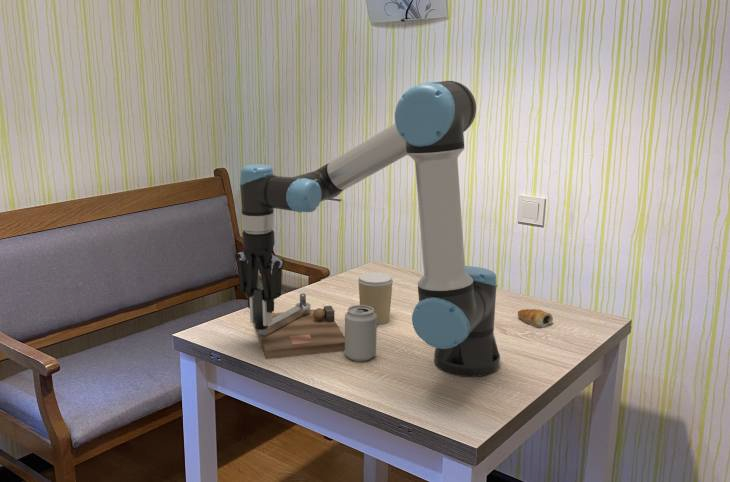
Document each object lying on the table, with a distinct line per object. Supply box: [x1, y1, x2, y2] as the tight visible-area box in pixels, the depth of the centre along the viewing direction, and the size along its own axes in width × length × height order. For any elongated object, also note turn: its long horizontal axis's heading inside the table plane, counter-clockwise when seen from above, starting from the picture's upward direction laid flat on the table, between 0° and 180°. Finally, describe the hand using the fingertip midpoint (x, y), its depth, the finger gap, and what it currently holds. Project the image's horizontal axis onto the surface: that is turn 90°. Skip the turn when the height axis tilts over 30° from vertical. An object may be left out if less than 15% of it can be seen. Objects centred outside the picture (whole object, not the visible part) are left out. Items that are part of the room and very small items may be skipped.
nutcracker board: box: [253, 305, 345, 360], centre depth 181 cm, size 24×20×5 cm
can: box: [344, 304, 377, 362], centre depth 168 cm, size 8×8×12 cm
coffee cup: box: [357, 271, 394, 325], centre depth 191 cm, size 9×9×12 cm
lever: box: [254, 286, 312, 336], centre depth 182 cm, size 22×4×12 cm, turn 150°
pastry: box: [517, 308, 554, 329], centre depth 191 cm, size 9×7×4 cm
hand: (261, 322), depth 175 cm, fingers closed on lever, 3 cm apart
